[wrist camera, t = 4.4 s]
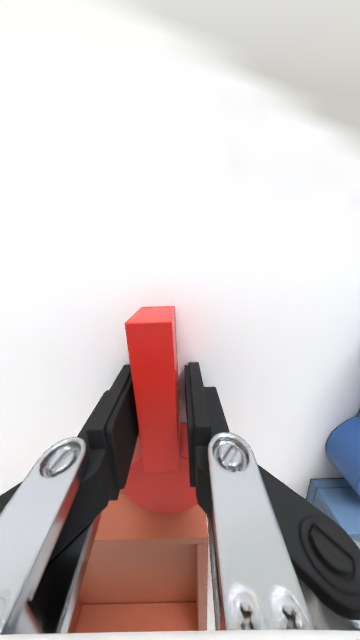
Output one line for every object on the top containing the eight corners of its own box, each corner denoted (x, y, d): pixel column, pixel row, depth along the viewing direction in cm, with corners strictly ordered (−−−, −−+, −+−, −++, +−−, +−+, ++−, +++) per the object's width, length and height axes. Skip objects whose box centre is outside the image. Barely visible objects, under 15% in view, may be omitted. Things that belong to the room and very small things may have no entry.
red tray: (37, 486, 12) (0, 543, 9) (202, 481, 11) (208, 537, 9) (80, 596, 16) (62, 655, 13) (202, 594, 16) (206, 653, 13)
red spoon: (203, 471, 11) (210, 529, 9) (137, 473, 11) (125, 531, 9) (203, 304, 8) (214, 319, 6) (112, 308, 8) (82, 324, 6)
